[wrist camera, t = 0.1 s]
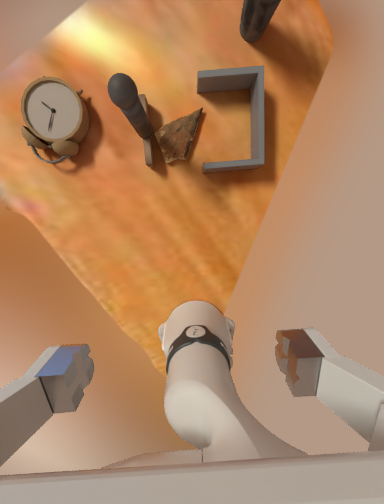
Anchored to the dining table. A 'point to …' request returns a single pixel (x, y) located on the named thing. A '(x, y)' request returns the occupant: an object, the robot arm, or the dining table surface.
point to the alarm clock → (54, 117)
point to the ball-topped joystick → (133, 110)
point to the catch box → (254, 82)
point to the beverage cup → (256, 17)
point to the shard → (178, 136)
